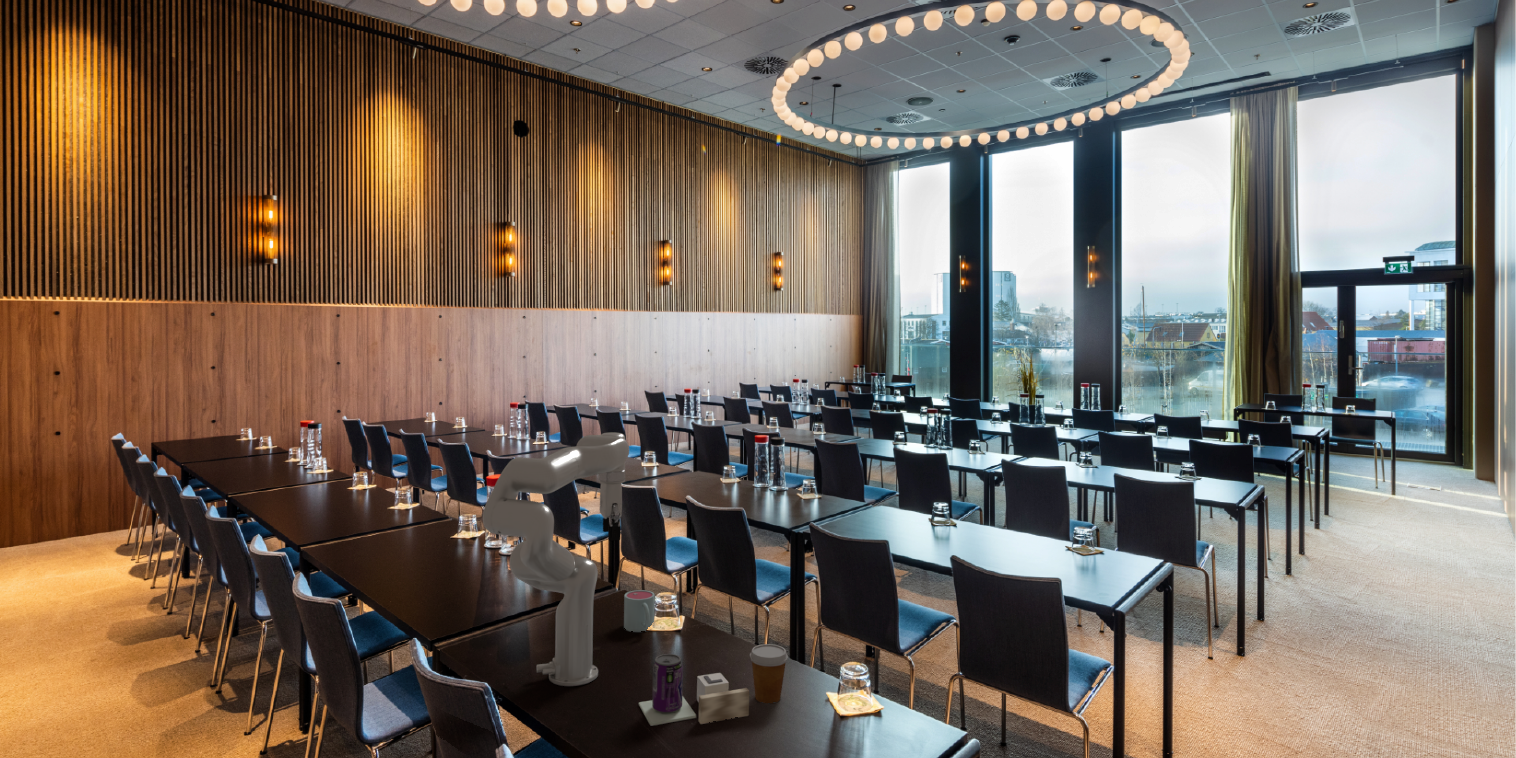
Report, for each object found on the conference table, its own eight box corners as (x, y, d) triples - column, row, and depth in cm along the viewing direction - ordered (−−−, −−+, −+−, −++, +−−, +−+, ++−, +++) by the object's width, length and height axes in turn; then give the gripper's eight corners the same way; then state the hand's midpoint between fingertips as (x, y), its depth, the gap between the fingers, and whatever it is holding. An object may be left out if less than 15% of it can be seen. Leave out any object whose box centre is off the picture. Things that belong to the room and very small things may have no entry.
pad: (650, 725, 176) (650, 723, 176) (638, 704, 186) (638, 702, 186) (696, 717, 180) (696, 715, 180) (682, 697, 190) (682, 695, 190)
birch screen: (700, 724, 177) (701, 698, 177) (698, 721, 179) (699, 695, 178) (748, 715, 182) (749, 690, 182) (746, 712, 183) (746, 687, 183)
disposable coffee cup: (774, 710, 185) (775, 661, 184) (741, 700, 190) (742, 652, 189) (793, 695, 193) (795, 648, 192) (761, 686, 198) (762, 640, 197)
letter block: (704, 710, 184) (705, 685, 183) (696, 700, 189) (697, 675, 189) (728, 706, 186) (728, 681, 186) (719, 696, 191) (720, 671, 191)
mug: (620, 623, 240) (621, 592, 239) (649, 619, 244) (649, 588, 243) (632, 639, 227) (633, 605, 227) (662, 634, 231) (663, 602, 231)
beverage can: (676, 716, 179) (677, 666, 179) (648, 713, 180) (648, 663, 180) (685, 703, 186) (686, 654, 186) (658, 699, 187) (658, 651, 187)
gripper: (593, 471, 224) (593, 529, 225) (603, 482, 208) (603, 544, 209) (619, 470, 227) (619, 527, 228) (630, 481, 210) (630, 542, 211)
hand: (611, 535), depth 218 cm, fingers open, 9 cm apart
